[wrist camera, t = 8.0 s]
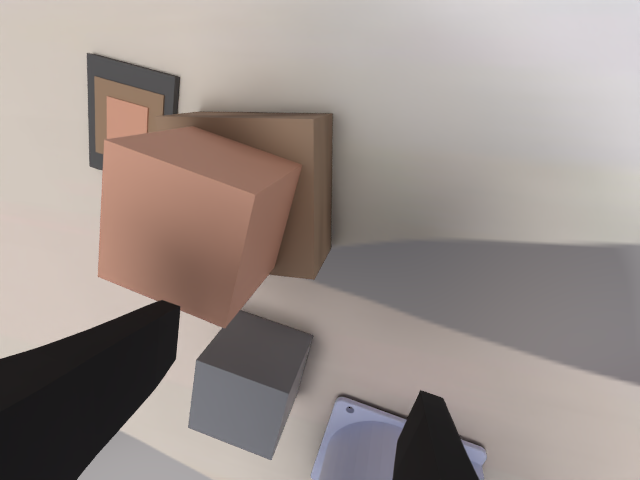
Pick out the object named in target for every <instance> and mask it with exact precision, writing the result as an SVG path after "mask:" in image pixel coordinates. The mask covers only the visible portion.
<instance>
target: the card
mask: <svg viewBox="0 0 640 480" xmlns="http://www.w3.org/2000/svg"><path fill="white" fill-rule="evenodd" d="M87 76H88V119H89V161H90V167H93V168H96V169H100V170H103V154H104V140H105V139H111V138H118V137H124V136H131V135H138V134H144V133H151V132H157V126H156V119H155V116H163V115H172V114H177V107H178V93H179V79H180V77H177V76H173V75H170V74H166V73H162V72H158V71H155V70H151V69H147V68H144V67H140V66H136V65H132V64H129V63H125V62H121V61H118V60H114V59H110V58H107V57H103V56H99V55H95V54H90V53H87Z"/></svg>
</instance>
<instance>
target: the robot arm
mask: <svg viewBox="0 0 640 480" xmlns="http://www.w3.org/2000/svg"><path fill="white" fill-rule="evenodd" d="M179 318H180V306H178V305H175V304H173V303H170V302H167V301H164V300H160V301H157V302H155V303H152V304H150V305H147V306H145V307H142V308H140V309H137V310H135V311H133V312H130V313H128V314H125V315H123V316H121V317H118V318H116V319H113V320H111V321H108V322H106V323H103V324H101V325H98V326H96V327H93V328H91V329H88V330H86V331H83V332H80V333H77V334H75V335H72V336H69V337H66V338H64V339H61V340H58V341H55V342H53V343H50V344H47V345H44V346H41V347H38V348H35V349H32V350H29V351H26V352H22V353H19V354H16V355H12V356H9V357H5V358H2V359H0V480H77V479H78V477H79V476H80V475H81V473H82V472H83V471H84V470H85V468H86V467H87V466H88V465H89V464H90V462H91V461H92V460H93V459H94V458H95V456H96V455H97V454H98V453H99V452H100V451H101V450H102V448H103V447H104V446H105V445H106V444H107V443H108V442H109V440H111V438H112V437H113V436H114V435H115V434H116V433H117V432H118V431H119V429H120V428H121V427H122V426H123V425H124V424H125V423H126V422H127V420H128V419H129V418H130V417H131V416H132V415H133V414H134V413H135V412H136V410H137V409H138V408H139V407H140V406H141V405H142V404H143V402H144V401H145V400H146V399H147V398H148V397H149V396H150V394H151V393H152V392H153V391H154V390H155V389H156V387H157V386H158V384H159V383H160V382H161V380H162V379H163V377H164V376H165V374H166V373H167V371H168V370H169V369H170V367H171V366H172V364H173V363H174V361H175V360H176V352H177V340H178V329H179ZM349 407H352V408H349ZM486 458H487V455H486V451H485V449H484V448H482V447H481V446H478V445H475V444H472V443H470V442H467V441H464V440H461V439H460V436H459V434H458V432H457V430H456V427H455V425H454V422H453V420H452V418H451V415H450V413H449V411H448V408H447V406H446V403H445V401H444V399H443V398H441V397H439V396H436V395H433V394H430V393H427V392H424V391H421V390H420V392H419V395H418V397H417V399H416V401H415V403H414V405H413V408H412V410H411V412H410V414H409V416H408V418H407V420H406V419H403V418H401V417H398V416H395V415H392V414H390V413H387V412H384V411H381V410H379V409H376V408H373V407H370V406H368V405H365V404H362V403H359V402H357V401H354V400H351V399H348V398H346V397H339V398H337V399H336V401H335V404H334V407H333V410H332V413H331V416H330V419H329V422H328V425H327V428H326V431H325V434H324V437H323V439H322V442H321V445H320V448H319V451H318V454H317V457H316V460H315V463H314V466H313V469H312V472H311V478H312V479H313V480H484V474H483V469H482V465H483V464H484V462H485V460H486Z"/></svg>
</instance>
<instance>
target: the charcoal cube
mask: <svg viewBox="0 0 640 480" xmlns="http://www.w3.org/2000/svg"><path fill="white" fill-rule="evenodd" d="M312 338H313V335H311V334H308V333H305V332H302V331H299V330H296V329H294V328H291V327H288V326H285V325H282V324H279V323H276V322H273V321H270V320H267V319H265V318H262V317H259V316H256V315H253V314H250V313H247V312H244V311H241V310H240V311H239V312H238V313H237V314H236V316H235V317H234V318H233V319H232V321H231V322H230V323H229V324H228V325H227V327H226V328H222V329H221V330H220V331H219V333H218V334H217V335H216V336H215V338H214V339H213V340H212V341H211V343H210V344H209V345H208V346H207V347H206V349H205V350H204V351H203V352H202V354H201V355H200V356H199V357H198V359H197V360H196V367H195V375H194V383H193V392H192V400H191V408H190V417H189V425H188V428H190V429H193V430H195V431H198V432H200V433H203V434H206V435H208V436H211V437H213V438H216V439H218V440H221V441H223V442H226V443H228V444H231V445H234V446H236V447H239V448H241V449H244V450H246V451H249V452H251V453H254V454H257V455H259V456H262V457H264V458H267V459H269V460H272V458H273V455H274V452H275V450H276V447H277V445H278V442H279V440H280V437H281V434H282V432H283V429H284V427H285V424H286V422H287V419H288V416H289V414H290V411H291V409H292V406H293V404H294V401H295V398H296V396H297V393H298V389H299V385H300V382H301V378H302V375H303V371H304V367H305V364H306V360H307V356H308V353H309V349H310V346H311V342H312Z"/></svg>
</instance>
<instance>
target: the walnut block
mask: <svg viewBox="0 0 640 480" xmlns="http://www.w3.org/2000/svg"><path fill="white" fill-rule="evenodd" d="M155 119H156V126H157V131H164V130H170V129H177V128H183V127H190V126H194V127H197V128H199V129H202V130H205V131H208V132H211V133H214V134H216V135H219V136H222V137H225V138H228V139H231V140H234V141H236V142H239V143H242V144H245V145H248V146H251V147H253V148H256V149H259V150H262V151H265V152H268V153H271V154H273V155H276V156H279V157H282V158H285V159H288V160H290V161H293V162H296V163H299V164H302V168H301V172H300V176H299V179H298V183H297V187H296V190H295V194H294V198H293V201H292V205H291V209H290V212H289V216H288V220H287V223H286V227H285V231H284V234H283V238H282V242H281V245H280V249H279V253H278V256H277V260H276V264H275V267H274V269H273V270H272V271H271V272H270V274H269V275H278V276H287V277H296V278H305V279H315V277H316V276H317V274H318V272H319V270H320V268H321V266H322V264H323V263H324V261H325V259H326V257H327V255H328V253H329V251H330V250H331V248H332V247H331V209H332V130H333V114H327V113H259V112H192V113H182V114H172V115H163V116H155Z"/></svg>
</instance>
